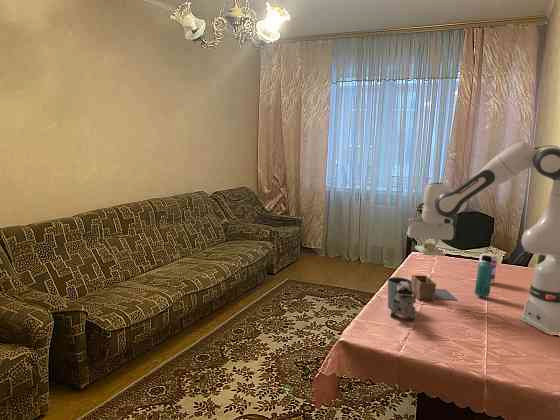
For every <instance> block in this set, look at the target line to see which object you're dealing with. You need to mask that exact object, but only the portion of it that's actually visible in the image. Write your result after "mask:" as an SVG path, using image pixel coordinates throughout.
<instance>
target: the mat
mask: <svg viewBox="0 0 560 420" xmlns="http://www.w3.org/2000/svg"><path fill="white" fill-rule="evenodd" d="M436 299H437V301H458V299H457V297H455V296H454V295H453V294H452V293H450V292H449V291H448V290H447V289H446V288H435V297H434V300H436Z"/></svg>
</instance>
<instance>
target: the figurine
mask: <svg viewBox="0 0 560 420" xmlns="http://www.w3.org/2000/svg"><path fill="white" fill-rule="evenodd" d="M413 294H414V292H413V288H412V287H411V286H410V284H409V283H408V282H405V281H401V282H400V283H399V285H398V286H397V291H396V296H395V297H394V299H393V302H394V303H393V304H392V305H391V309H390V310H391V313H390V317H391V318H394V317H395V315H398V316H403V317H409V316H410V318H409V322H412V323H413V322H414V320H415V319H416V307H414V305H415V303H416V301H417V298H416V295H415V294H414V295H413Z"/></svg>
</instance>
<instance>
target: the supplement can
mask: <svg viewBox="0 0 560 420" xmlns="http://www.w3.org/2000/svg"><path fill="white" fill-rule="evenodd" d="M483 255H487V256H491V261H490V262H489V261H483V260H482V256H483ZM497 257H498V256H497V255H496V254H493V253H490V252H483V253H482V252H481V254H480V255H479V259H478V264H479V263H481V262H488V263H491V264H492V266H493V269H492V277H491V284H492V285H493V284H494V283H495V280H496V279H495V278H496V270H497V263H498V258H497ZM491 284H490V286H492V285H491Z"/></svg>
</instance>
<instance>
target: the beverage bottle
mask: <svg viewBox="0 0 560 420" xmlns="http://www.w3.org/2000/svg"><path fill="white" fill-rule="evenodd" d="M482 260H483V261H489V262H490V261H491V256H487V255H483V256H482ZM492 269H493V266H492V264H491V263H488V262H481V263H479V262H478V265H477V273H476V280H475V281H476V282H475V288H474V294H475V295H477V296H480V297H489V296H490V291H491V286H492V285H490V284H491V277H492Z"/></svg>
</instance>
